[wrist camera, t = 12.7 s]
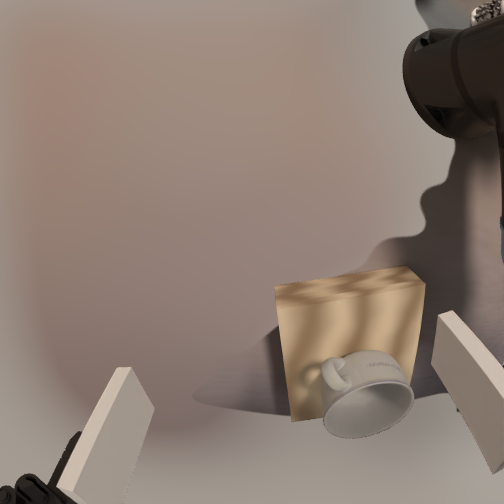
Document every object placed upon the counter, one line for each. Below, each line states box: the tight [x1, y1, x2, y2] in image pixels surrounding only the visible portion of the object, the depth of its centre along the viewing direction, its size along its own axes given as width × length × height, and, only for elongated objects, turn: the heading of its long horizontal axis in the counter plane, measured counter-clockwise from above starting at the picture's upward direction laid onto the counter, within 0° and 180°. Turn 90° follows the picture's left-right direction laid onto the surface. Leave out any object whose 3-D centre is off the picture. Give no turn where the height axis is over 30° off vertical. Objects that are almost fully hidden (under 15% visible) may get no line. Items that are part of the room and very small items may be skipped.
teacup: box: [320, 350, 414, 438], centre depth 32 cm, size 14×11×8 cm
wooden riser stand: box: [274, 265, 426, 422], centre depth 39 cm, size 18×20×6 cm
